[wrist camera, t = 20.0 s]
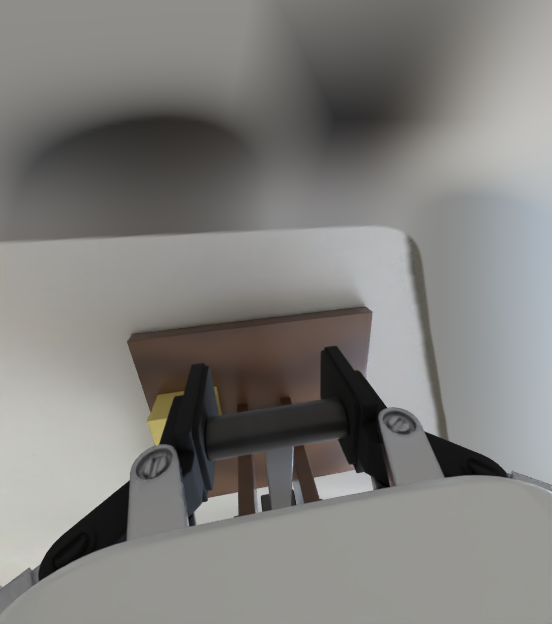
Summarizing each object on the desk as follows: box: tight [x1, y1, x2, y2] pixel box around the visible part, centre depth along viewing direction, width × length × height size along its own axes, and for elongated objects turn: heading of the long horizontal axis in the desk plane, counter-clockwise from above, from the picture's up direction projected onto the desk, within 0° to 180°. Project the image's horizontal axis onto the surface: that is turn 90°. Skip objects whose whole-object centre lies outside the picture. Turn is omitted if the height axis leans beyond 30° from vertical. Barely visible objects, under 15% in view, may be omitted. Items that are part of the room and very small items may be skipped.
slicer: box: [127, 307, 372, 518], centre depth 21 cm, size 20×20×12 cm
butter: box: [147, 387, 222, 446], centre depth 22 cm, size 5×3×3 cm
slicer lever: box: [205, 397, 349, 512], centre depth 14 cm, size 14×5×2 cm, turn 4°
